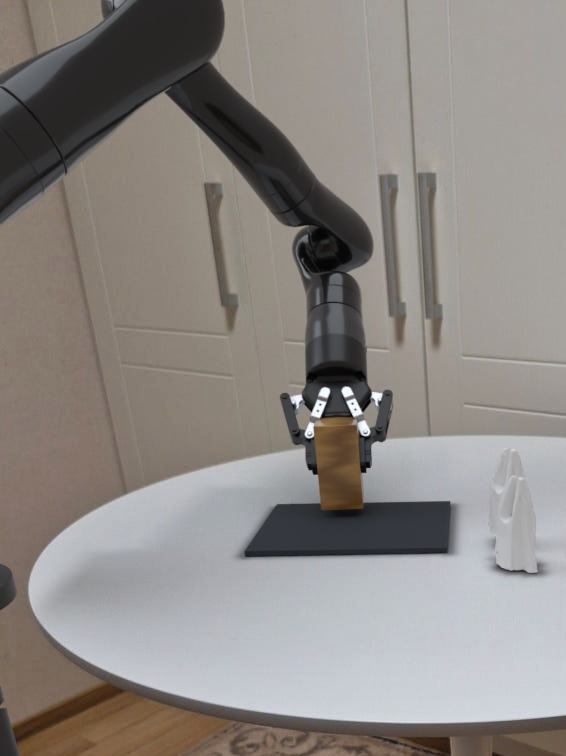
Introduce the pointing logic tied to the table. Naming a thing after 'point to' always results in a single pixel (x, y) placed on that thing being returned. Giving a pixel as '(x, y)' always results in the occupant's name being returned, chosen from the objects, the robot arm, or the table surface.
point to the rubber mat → (354, 529)
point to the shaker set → (512, 515)
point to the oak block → (338, 463)
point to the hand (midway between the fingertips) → (339, 470)
